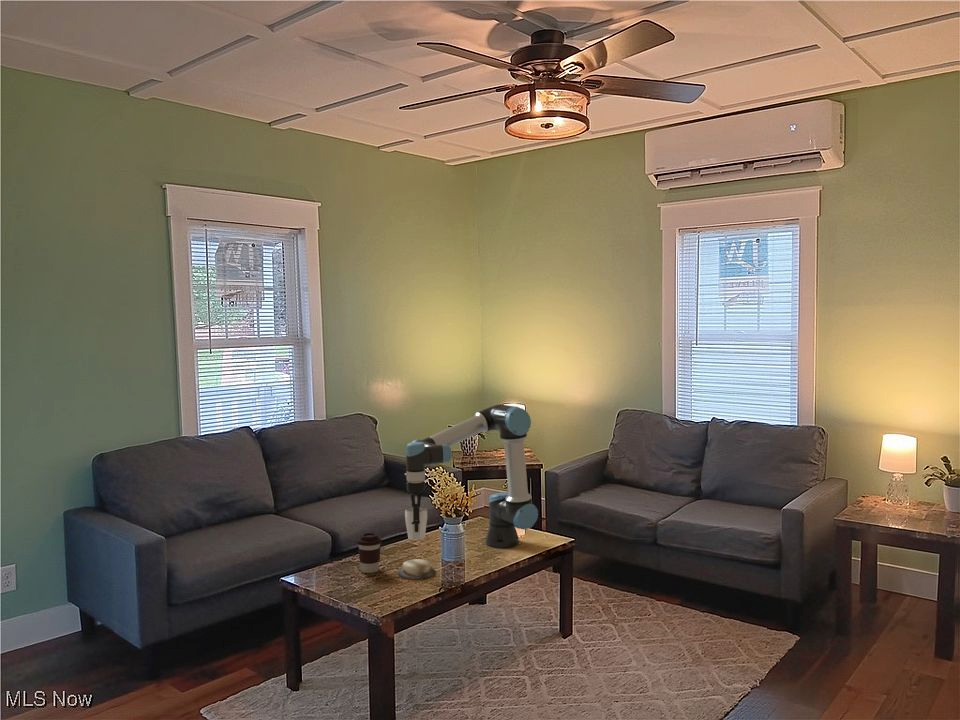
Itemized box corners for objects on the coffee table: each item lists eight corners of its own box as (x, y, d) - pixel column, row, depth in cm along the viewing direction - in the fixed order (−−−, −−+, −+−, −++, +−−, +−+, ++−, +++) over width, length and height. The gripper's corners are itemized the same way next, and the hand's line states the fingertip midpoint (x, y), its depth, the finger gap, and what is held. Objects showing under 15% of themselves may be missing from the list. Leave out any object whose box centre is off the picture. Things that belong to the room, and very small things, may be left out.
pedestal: (423, 564, 331) (422, 555, 331) (442, 574, 319) (441, 564, 318) (391, 571, 323) (391, 562, 322) (409, 582, 310) (409, 572, 310)
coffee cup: (385, 567, 328) (385, 532, 327) (376, 575, 318) (375, 539, 317) (363, 565, 330) (363, 530, 329) (353, 573, 321) (353, 537, 320)
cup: (402, 536, 322) (402, 507, 321) (423, 534, 325) (423, 505, 324) (408, 542, 314) (408, 512, 313) (430, 540, 317) (430, 510, 316)
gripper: (406, 475, 328) (407, 528, 330) (406, 487, 307) (407, 544, 308) (424, 474, 329) (425, 528, 331) (425, 486, 307) (426, 543, 309)
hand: (416, 535), depth 319 cm, fingers closed on cup, 9 cm apart
